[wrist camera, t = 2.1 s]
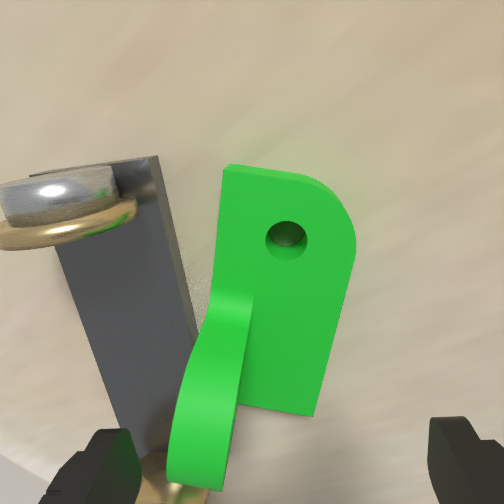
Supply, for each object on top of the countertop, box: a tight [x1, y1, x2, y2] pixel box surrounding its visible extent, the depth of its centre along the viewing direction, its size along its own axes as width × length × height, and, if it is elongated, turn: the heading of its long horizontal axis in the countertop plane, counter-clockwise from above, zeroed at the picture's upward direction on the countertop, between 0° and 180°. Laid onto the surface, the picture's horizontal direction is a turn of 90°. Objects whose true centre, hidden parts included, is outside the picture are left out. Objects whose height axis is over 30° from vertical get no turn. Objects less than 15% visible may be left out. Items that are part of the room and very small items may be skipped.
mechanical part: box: [166, 164, 356, 492], centre depth 15 cm, size 12×6×8 cm, turn 172°
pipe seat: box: [0, 155, 209, 504], centre depth 17 cm, size 6×19×6 cm, turn 8°
